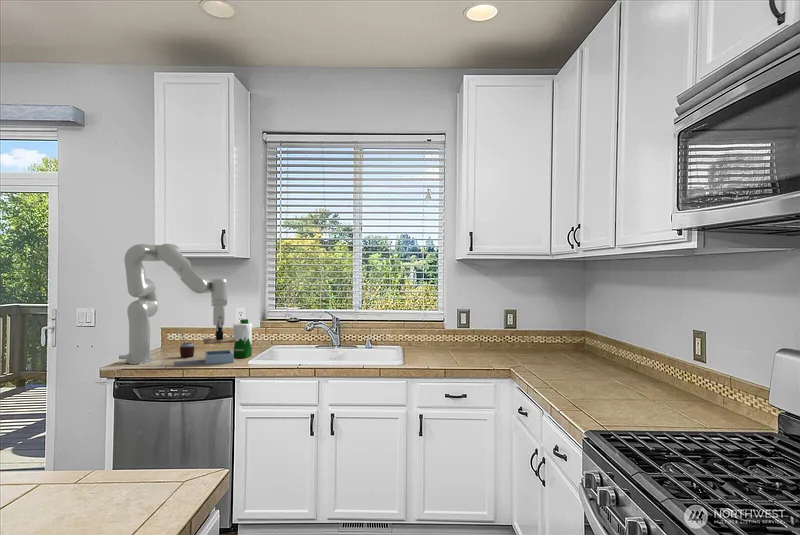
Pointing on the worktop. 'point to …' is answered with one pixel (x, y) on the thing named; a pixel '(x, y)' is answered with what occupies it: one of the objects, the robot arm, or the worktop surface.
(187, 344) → the mate gourd
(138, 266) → the robot arm
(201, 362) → the mat
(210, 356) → the dish
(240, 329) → the milk carton
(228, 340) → the lid
